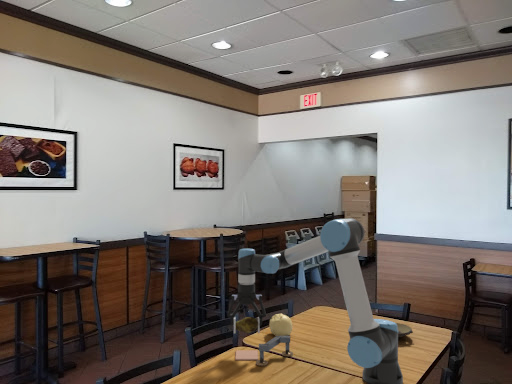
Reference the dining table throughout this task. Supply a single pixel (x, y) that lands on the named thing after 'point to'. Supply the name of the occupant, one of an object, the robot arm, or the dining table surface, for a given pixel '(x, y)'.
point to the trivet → (246, 355)
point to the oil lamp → (403, 330)
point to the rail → (272, 344)
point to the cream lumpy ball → (280, 325)
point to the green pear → (247, 325)
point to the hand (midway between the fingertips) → (246, 332)
